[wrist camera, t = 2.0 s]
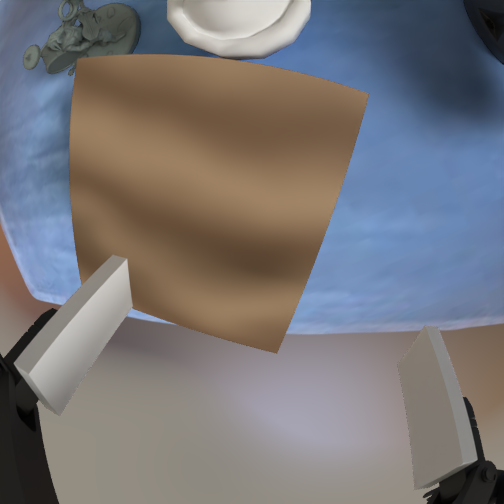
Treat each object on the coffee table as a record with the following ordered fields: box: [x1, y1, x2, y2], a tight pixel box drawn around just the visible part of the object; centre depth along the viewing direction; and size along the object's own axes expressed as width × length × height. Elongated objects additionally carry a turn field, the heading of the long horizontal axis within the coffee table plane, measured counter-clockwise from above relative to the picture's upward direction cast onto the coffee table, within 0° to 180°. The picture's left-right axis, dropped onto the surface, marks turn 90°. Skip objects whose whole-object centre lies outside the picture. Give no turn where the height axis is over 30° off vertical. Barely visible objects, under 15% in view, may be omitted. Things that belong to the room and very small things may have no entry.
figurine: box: [23, 0, 140, 76], centre depth 20 cm, size 11×11×12 cm
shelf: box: [69, 54, 369, 353], centre depth 23 cm, size 17×16×18 cm
